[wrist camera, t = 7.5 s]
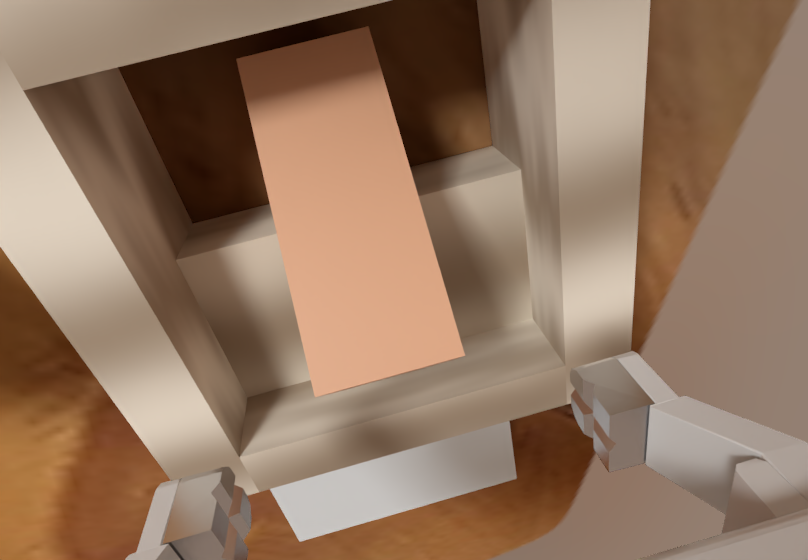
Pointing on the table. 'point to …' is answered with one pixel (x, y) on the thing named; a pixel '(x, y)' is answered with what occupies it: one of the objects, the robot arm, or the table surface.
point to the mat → (398, 482)
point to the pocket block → (260, 251)
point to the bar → (347, 213)
